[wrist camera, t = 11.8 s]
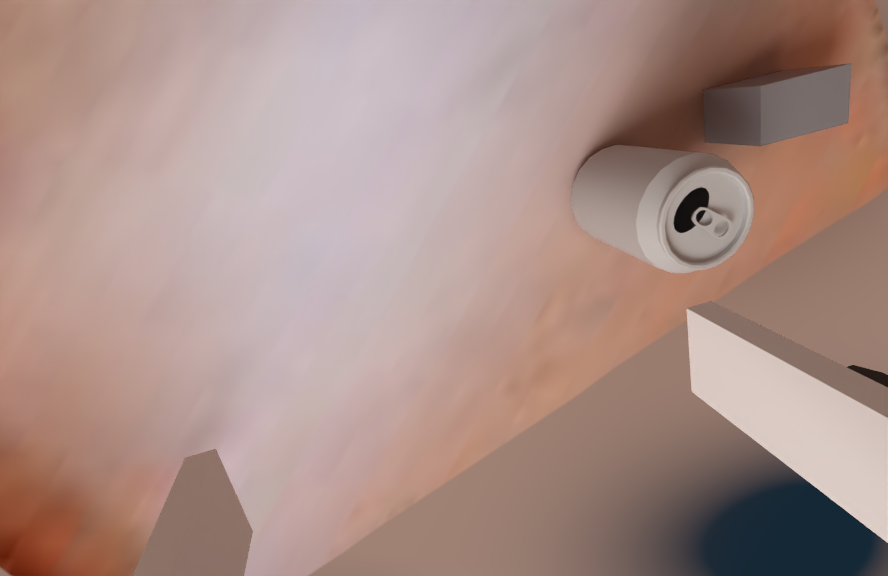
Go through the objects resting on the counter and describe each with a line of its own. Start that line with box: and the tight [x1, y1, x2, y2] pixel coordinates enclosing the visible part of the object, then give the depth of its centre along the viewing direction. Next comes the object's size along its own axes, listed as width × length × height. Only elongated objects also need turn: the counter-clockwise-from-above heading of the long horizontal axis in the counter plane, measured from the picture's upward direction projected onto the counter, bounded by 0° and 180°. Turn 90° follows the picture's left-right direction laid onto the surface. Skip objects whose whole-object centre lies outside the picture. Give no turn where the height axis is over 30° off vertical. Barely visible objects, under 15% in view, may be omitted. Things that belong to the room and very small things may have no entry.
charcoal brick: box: [703, 64, 851, 146], centre depth 39 cm, size 7×4×6 cm, turn 102°
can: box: [571, 145, 754, 273], centre depth 36 cm, size 8×8×12 cm
